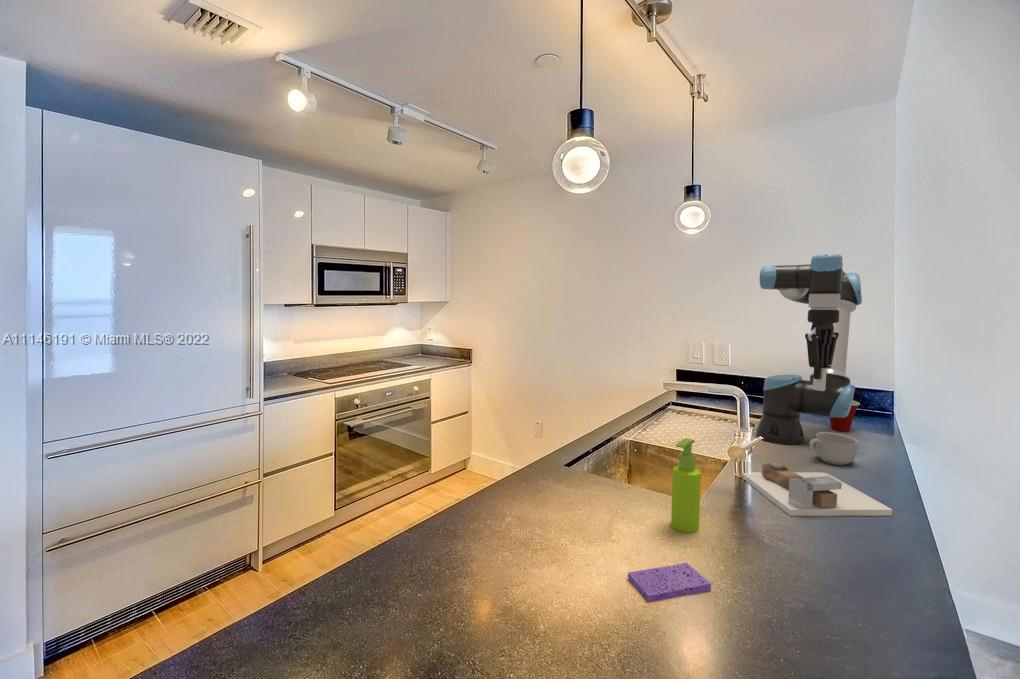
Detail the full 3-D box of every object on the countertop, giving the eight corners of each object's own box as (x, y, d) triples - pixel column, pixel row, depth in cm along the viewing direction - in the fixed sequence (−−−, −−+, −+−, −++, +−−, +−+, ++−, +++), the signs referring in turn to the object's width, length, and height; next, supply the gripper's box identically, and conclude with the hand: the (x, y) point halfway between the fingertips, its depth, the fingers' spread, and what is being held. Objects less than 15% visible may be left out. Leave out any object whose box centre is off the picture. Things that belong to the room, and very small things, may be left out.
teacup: (842, 456, 151) (844, 432, 150) (864, 468, 140) (866, 442, 140) (797, 455, 152) (798, 431, 152) (815, 467, 142) (817, 441, 141)
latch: (759, 474, 131) (759, 461, 131) (777, 473, 132) (778, 460, 131) (818, 507, 110) (819, 492, 110) (839, 506, 111) (840, 490, 111)
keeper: (787, 507, 114) (789, 478, 114) (826, 505, 116) (828, 476, 115) (800, 515, 110) (801, 485, 110) (839, 512, 112) (841, 482, 111)
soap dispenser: (664, 527, 104) (666, 440, 103) (678, 517, 109) (681, 434, 107) (689, 537, 100) (692, 446, 98) (703, 526, 105) (706, 439, 103)
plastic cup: (856, 435, 173) (858, 404, 172) (821, 430, 181) (823, 399, 180) (860, 429, 181) (862, 399, 180) (826, 424, 189) (828, 395, 188)
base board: (741, 477, 134) (741, 472, 133) (825, 477, 133) (825, 472, 133) (789, 515, 110) (790, 509, 110) (892, 515, 110) (892, 509, 110)
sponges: (711, 593, 82) (711, 583, 82) (647, 605, 79) (647, 594, 79) (686, 570, 89) (687, 561, 89) (627, 581, 86) (627, 571, 86)
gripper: (822, 308, 140) (818, 385, 143) (796, 308, 134) (792, 389, 137) (850, 308, 134) (845, 390, 136) (824, 309, 128) (819, 394, 130)
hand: (818, 389), depth 136 cm, fingers closed
